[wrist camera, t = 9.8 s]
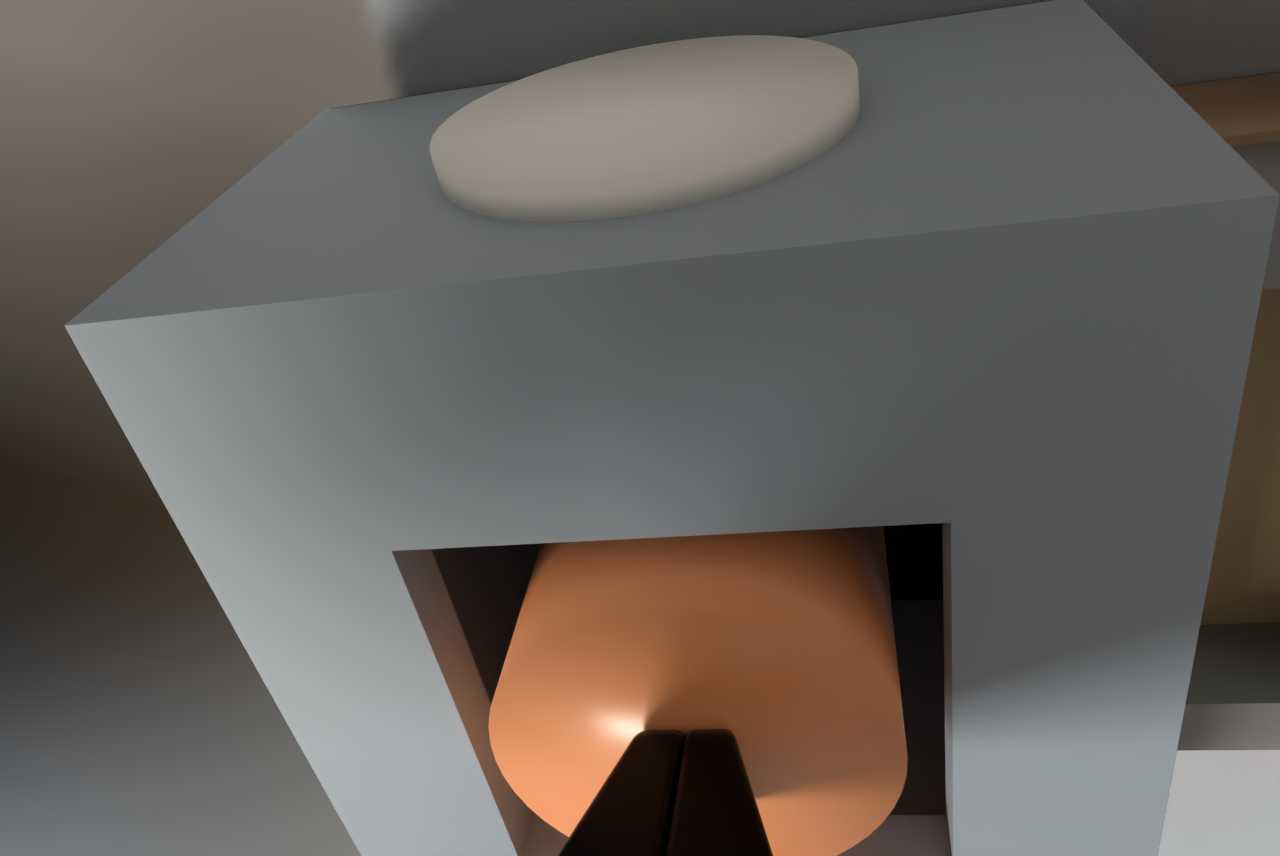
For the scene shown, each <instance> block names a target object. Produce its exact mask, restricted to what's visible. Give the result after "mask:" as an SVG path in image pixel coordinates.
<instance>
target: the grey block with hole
mask: <svg viewBox="0 0 1280 856" xmlns="http://www.w3.org/2000/svg"><path fill="white" fill-rule="evenodd" d="M1279 196H1280V195H1279V194H1278V193H1277V192H1276V191H1275V190H1274V189H1273V188H1272V187H1271V186H1270V185H1269V184H1268V183H1267V182H1266V181H1265V180H1264V179H1263V178H1262V177H1261V176H1260V175H1259V174H1258V173H1257V172H1256V171H1255V170H1254V169H1253V168H1252V167H1251V166H1250V165H1249V164H1248V163H1247V162H1246V161H1245V160H1244V159H1243V158H1242V157H1241V156H1240V155H1239V154H1238V153H1237V152H1236V151H1235V150H1234V149H1233V148H1232V147H1231V146H1230V145H1229V144H1228V143H1227V142H1226V141H1225V140H1224V139H1223V138H1222V137H1221V136H1220V135H1219V134H1218V133H1217V132H1216V131H1215V130H1214V129H1213V128H1212V127H1211V126H1210V125H1209V124H1208V123H1207V122H1206V121H1205V120H1204V119H1203V118H1202V117H1201V116H1200V115H1198V114H1197V113H1196V112H1195V111H1194V110H1193V109H1192V108H1191V107H1190V106H1189V105H1188V104H1187V103H1186V102H1185V101H1184V100H1183V99H1182V98H1181V97H1180V96H1179V95H1178V94H1177V93H1176V92H1175V91H1174V90H1173V89H1172V88H1171V87H1170V86H1169V85H1168V84H1167V83H1166V82H1165V81H1164V80H1163V79H1162V78H1161V77H1160V76H1159V75H1158V74H1157V73H1156V72H1155V71H1154V70H1153V69H1152V68H1151V67H1150V66H1149V65H1148V64H1147V63H1146V62H1145V61H1144V60H1143V59H1142V58H1141V57H1140V56H1139V55H1138V54H1137V53H1136V52H1135V51H1134V50H1133V49H1132V48H1131V47H1130V46H1129V45H1128V44H1127V43H1126V42H1125V41H1124V40H1123V39H1122V38H1121V37H1120V36H1119V35H1118V34H1117V33H1116V32H1115V31H1114V30H1113V29H1112V28H1111V27H1110V26H1109V25H1108V24H1107V23H1106V22H1105V21H1104V20H1103V19H1101V18H1100V17H1099V16H1098V15H1097V14H1096V13H1095V12H1094V11H1093V10H1092V9H1091V8H1090V7H1089V6H1088V5H1087V4H1086V3H1085V2H1084V1H1083V0H1052V1H1045V2H1039V3H1032V4H1025V5H1019V6H1012V7H1005V8H999V9H992V10H985V11H979V12H972V13H965V14H958V15H952V16H945V17H938V18H932V19H925V20H918V21H912V22H905V23H898V24H892V25H885V26H878V27H872V28H865V29H858V30H851V31H845V32H838V33H831V34H825V35H818V36H811V37H805V38H796V37H786V36H769V35H740V36H720V37H706V38H696V39H686V40H679V41H672V42H664V43H658V44H652V45H646V46H640V47H635V48H630V49H625V50H620V51H615V52H611V53H607V54H602V55H598V56H594V57H590V58H586V59H583V60H579V61H575V62H571V63H568V64H565V65H561V66H558V67H555V68H552V69H548V70H546V71H543V72H540V73H537V74H534V75H531V76H528V77H526V78H523V79H520V80H517V81H510V82H504V83H497V84H490V85H484V86H477V87H470V88H464V89H457V90H450V91H444V92H437V93H430V94H424V95H417V96H410V97H403V98H397V99H390V100H383V101H377V102H370V103H364V104H357V105H350V106H343V107H337V108H331V109H325V110H324V111H323V112H321V113H320V114H319V115H318V116H317V117H315V118H314V119H313V120H312V121H311V122H309V123H308V124H307V125H306V126H305V127H303V128H302V129H301V130H300V131H299V132H297V133H296V134H295V135H294V136H292V137H291V138H290V139H289V140H288V141H286V142H285V143H284V144H283V145H282V146H280V147H279V148H278V149H277V150H276V151H275V152H273V153H272V154H271V155H270V156H268V157H267V158H266V159H265V160H264V161H262V162H261V163H260V164H259V165H258V166H256V167H255V168H254V169H253V170H252V171H250V172H249V173H248V174H247V175H246V176H245V177H243V178H242V179H241V180H239V181H238V182H237V183H236V184H235V185H234V186H232V187H231V188H230V189H229V190H228V191H226V192H225V193H224V194H223V195H221V196H220V197H219V198H218V199H217V200H215V201H214V202H213V203H212V204H211V205H209V206H208V207H207V208H206V209H205V210H203V211H202V212H201V213H200V214H198V215H197V216H196V217H195V218H194V219H193V220H191V221H190V222H189V223H188V224H187V225H185V226H184V227H183V228H182V229H180V230H179V231H178V232H177V233H176V234H174V235H173V236H172V237H171V238H170V239H168V240H167V241H166V242H165V243H164V244H162V245H161V246H160V247H159V248H158V249H156V250H155V251H154V252H153V253H152V254H151V255H149V256H148V257H147V258H145V259H144V260H143V261H142V262H141V263H139V264H138V265H137V266H136V267H135V268H134V269H132V270H131V271H130V272H129V273H127V274H126V275H125V276H124V277H123V278H121V279H120V280H119V281H118V282H117V283H115V284H114V285H113V286H112V287H111V288H110V289H108V290H107V291H106V292H105V293H103V294H102V295H101V296H100V297H99V298H97V299H96V300H95V301H94V302H92V303H91V304H90V305H89V306H88V307H86V308H85V309H84V310H83V311H82V312H80V313H79V314H78V315H77V316H76V317H74V318H73V319H72V320H71V321H70V322H68V323H67V324H66V325H65V328H66V329H67V331H68V333H69V335H70V337H71V338H72V340H73V342H74V344H75V346H76V347H77V349H78V351H79V353H80V355H81V356H82V358H83V360H84V361H85V363H86V365H87V367H88V369H89V371H90V372H91V374H92V376H93V378H94V380H95V381H96V383H97V385H98V387H99V388H100V390H101V392H102V394H103V396H104V397H105V399H106V401H107V403H108V405H109V406H110V408H111V410H112V412H113V413H114V415H115V417H116V419H117V421H118V422H119V424H120V426H121V428H122V429H123V431H124V433H125V435H126V437H127V438H128V440H129V442H130V444H131V445H132V447H133V449H134V451H135V453H136V454H137V456H138V458H139V460H140V462H141V463H142V465H143V467H144V468H145V471H146V472H147V474H148V476H149V478H150V479H151V481H152V483H153V485H154V487H155V488H156V490H157V492H158V494H159V496H160V497H161V499H162V501H163V503H164V504H165V506H166V508H167V510H168V512H169V513H170V515H171V517H172V519H173V521H174V522H175V524H176V526H177V528H178V529H179V531H180V533H181V535H182V537H183V538H184V540H185V542H186V544H187V545H188V547H189V549H190V551H191V553H192V554H193V556H194V558H195V560H196V562H197V563H198V565H199V567H200V569H201V570H202V572H203V574H204V575H205V578H206V579H207V581H208V583H209V585H210V587H211V588H212V590H213V592H214V594H215V595H216V597H217V599H218V601H219V603H220V604H221V606H222V608H223V609H224V612H225V613H226V615H227V617H228V619H229V620H230V622H231V624H232V626H233V627H234V629H235V631H236V633H237V635H238V636H239V638H240V640H241V642H242V644H243V645H244V647H245V649H246V651H247V652H248V654H249V656H250V658H251V660H252V661H253V663H254V665H255V667H256V668H257V670H258V672H259V674H260V676H261V677H262V679H263V681H264V683H265V684H266V686H267V688H268V690H269V692H270V693H271V695H272V697H273V699H274V701H275V702H276V704H277V706H278V708H279V710H280V711H281V713H282V715H283V717H284V718H285V720H286V722H287V724H288V726H289V728H290V729H291V731H292V733H293V735H294V736H295V738H296V740H297V742H298V743H299V745H300V747H301V749H302V751H303V752H304V754H305V756H306V758H307V760H308V761H309V763H310V765H311V767H312V769H313V770H314V772H315V774H316V776H317V777H318V779H319V781H320V783H321V785H322V786H323V788H324V790H325V792H326V794H327V795H328V797H329V799H330V801H331V802H332V804H333V806H334V808H335V810H336V811H337V813H338V815H339V817H340V818H341V820H342V822H343V824H344V826H345V827H346V829H347V831H348V833H349V835H350V836H351V838H352V840H353V842H354V843H355V845H356V847H357V849H358V851H359V852H360V854H361V856H557V855H558V854H559V852H560V850H561V849H562V847H563V846H564V844H565V843H566V841H567V840H568V838H569V837H568V836H566V835H564V834H563V833H561V832H559V831H558V830H557V829H555V828H554V827H552V826H551V825H549V824H548V823H547V822H545V821H544V820H543V819H541V818H540V817H539V816H538V815H537V814H536V813H535V812H533V811H532V810H531V809H530V808H529V807H528V806H527V805H526V804H525V803H524V802H523V801H522V800H521V799H520V798H519V796H518V795H517V794H516V793H515V792H514V791H513V789H512V788H511V786H510V785H509V784H508V782H507V781H506V779H505V778H504V776H503V775H502V773H501V771H500V768H499V766H498V764H497V762H496V760H495V757H494V754H493V751H492V748H491V744H490V737H489V728H488V724H489V714H490V707H491V704H492V701H493V697H494V694H495V691H496V688H497V685H498V681H499V678H500V675H501V672H502V668H503V665H504V662H505V659H506V656H507V652H508V649H509V646H510V643H511V639H512V636H513V633H514V630H515V627H516V623H517V620H518V617H519V614H520V610H521V607H522V604H523V601H524V598H525V594H526V591H527V588H528V585H529V581H530V578H531V575H532V572H533V568H534V565H535V562H536V559H537V556H538V552H539V549H540V546H541V543H559V542H579V541H599V540H618V539H638V538H658V537H677V536H697V535H717V534H736V533H756V532H776V531H795V530H815V529H835V528H854V527H874V526H894V525H913V524H933V523H942V543H943V599H933V600H906V601H891V605H892V614H893V624H894V633H895V643H896V652H897V662H898V671H899V680H900V690H901V699H902V709H903V718H904V728H905V737H906V746H907V756H908V761H907V776H906V780H905V783H904V787H903V790H902V793H901V795H900V797H899V799H898V801H897V803H896V805H895V807H894V809H893V810H892V811H891V813H890V814H889V815H888V816H887V818H886V819H885V820H884V822H883V823H882V824H881V825H880V826H879V827H878V828H876V829H875V830H874V831H873V832H872V833H871V834H870V835H869V836H868V837H866V838H865V839H863V840H862V841H860V842H859V843H858V844H856V845H855V846H853V847H852V848H850V849H848V850H846V851H844V852H842V853H840V854H838V855H836V856H1158V851H1159V845H1160V840H1161V834H1162V829H1163V823H1164V818H1165V813H1166V807H1167V802H1168V796H1169V791H1170V786H1171V780H1172V775H1173V769H1174V764H1175V759H1176V753H1177V748H1178V742H1179V737H1180V731H1181V726H1182V721H1183V715H1184V710H1185V704H1186V699H1187V694H1188V688H1189V683H1190V677H1191V672H1192V666H1193V661H1194V656H1195V650H1196V645H1197V639H1198V634H1199V629H1200V623H1201V618H1202V612H1203V607H1204V602H1205V596H1206V591H1207V585H1208V580H1209V574H1210V569H1211V564H1212V558H1213V553H1214V547H1215V542H1216V537H1217V531H1218V526H1219V520H1220V515H1221V509H1222V504H1223V499H1224V493H1225V488H1226V482H1227V477H1228V472H1229V466H1230V461H1231V455H1232V450H1233V445H1234V439H1235V434H1236V428H1237V423H1238V417H1239V412H1240V407H1241V401H1242V396H1243V390H1244V385H1245V380H1246V374H1247V369H1248V363H1249V358H1250V352H1251V347H1252V342H1253V336H1254V331H1255V325H1256V320H1257V315H1258V309H1259V304H1260V298H1261V293H1262V288H1263V282H1264V277H1265V271H1266V266H1267V260H1268V255H1269V250H1270V244H1271V239H1272V233H1273V228H1274V223H1275V217H1276V212H1277V206H1278V201H1279Z"/></svg>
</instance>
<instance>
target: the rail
mask: <svg viewBox="0 0 1280 856" xmlns="http://www.w3.org/2000/svg"><path fill="white" fill-rule="evenodd" d="M1171 88H1172V89H1173V90H1174V91H1175V92H1176V93H1177V94H1178V95H1179V96H1180V97H1181V98H1182V99H1183V100H1184V101H1185V102H1186V103H1187V104H1188V105H1189V106H1190V107H1191V108H1192V109H1193V110H1194V111H1195V112H1196V113H1197V114H1198V115H1200V116H1201V117H1202V118H1203V119H1204V120H1205V121H1206V122H1207V123H1208V124H1209V125H1210V126H1211V127H1212V128H1213V129H1214V130H1215V131H1216V132H1217V133H1218V134H1219V135H1220V136H1221V137H1222V138H1223V139H1224V140H1225V141H1226V142H1227V143H1228V144H1229V145H1230V146H1231V147H1232V148H1233V149H1234V150H1235V151H1236V152H1237V153H1238V154H1239V155H1240V156H1241V157H1242V158H1243V159H1244V160H1245V161H1246V162H1247V163H1248V164H1249V165H1250V166H1251V167H1252V168H1253V169H1254V170H1255V171H1256V172H1257V173H1258V174H1259V175H1260V176H1261V177H1262V178H1263V179H1264V180H1265V181H1266V182H1267V183H1268V184H1269V185H1270V186H1271V187H1272V188H1273V189H1274V190H1275V191H1276V192H1277V193H1278V194H1279V195H1280V72H1279V73H1271V74H1263V75H1256V76H1248V77H1240V78H1233V79H1225V80H1217V81H1210V82H1202V83H1194V84H1187V85H1179V86H1171ZM1177 750H1280V196H1279V201H1278V206H1277V212H1276V217H1275V223H1274V228H1273V233H1272V239H1271V244H1270V250H1269V255H1268V260H1267V266H1266V271H1265V277H1264V282H1263V288H1262V293H1261V298H1260V304H1259V309H1258V315H1257V320H1256V325H1255V331H1254V336H1253V342H1252V347H1251V352H1250V358H1249V363H1248V369H1247V374H1246V380H1245V385H1244V390H1243V396H1242V401H1241V407H1240V412H1239V417H1238V423H1237V428H1236V434H1235V439H1234V445H1233V450H1232V455H1231V461H1230V466H1229V472H1228V477H1227V482H1226V488H1225V493H1224V499H1223V504H1222V509H1221V515H1220V520H1219V526H1218V531H1217V537H1216V542H1215V547H1214V553H1213V558H1212V564H1211V569H1210V574H1209V580H1208V585H1207V591H1206V596H1205V602H1204V607H1203V612H1202V618H1201V623H1200V629H1199V634H1198V639H1197V645H1196V650H1195V656H1194V661H1193V666H1192V672H1191V677H1190V683H1189V688H1188V694H1187V699H1186V704H1185V710H1184V715H1183V721H1182V726H1181V731H1180V737H1179V742H1178V748H1177Z"/></svg>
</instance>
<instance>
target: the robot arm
mask: <svg viewBox="0 0 1280 856" xmlns="http://www.w3.org/2000/svg"><path fill="white" fill-rule="evenodd" d="M557 856H773V853H772V850H771V847H770V844H769V841H768V838H767V835H766V831H765V828H764V825H763V822H762V819H761V816H760V813H759V809H758V806H757V803H756V800H755V797H754V794H753V791H752V787H751V784H750V781H749V778H748V775H747V772H746V769H745V766H744V762H743V759H742V756H741V753H740V750H739V747H738V744H737V741H736V738H735V736H734V734H733V733H732V731H730V730H727V729H711V730H692V731H690V732H689V733H688V734H687V735H686V736H685V734H684V733H683V732H682V731H679V730H645V731H641V732H640V733H638V734H637V735H636V736H635V737H634V738H633V739H632V741H631V742H630V744H629V745H628V747H627V748H626V750H625V751H624V753H623V755H622V756H621V758H620V759H619V761H618V762H617V764H616V765H615V767H614V769H613V770H612V772H611V773H610V775H609V776H608V778H607V779H606V781H605V782H604V784H603V786H602V787H601V789H600V790H599V792H598V793H597V795H596V796H595V798H594V799H593V801H592V803H591V804H590V806H589V807H588V809H587V810H586V812H585V813H584V815H583V816H582V818H581V820H580V821H579V823H578V824H577V826H576V827H575V829H574V830H573V832H572V833H571V835H570V837H569V838H568V840H567V841H566V843H565V844H564V846H563V847H562V849H561V850H560V852H559V854H558V855H557Z"/></svg>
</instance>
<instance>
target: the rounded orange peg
mask: <svg viewBox="0 0 1280 856" xmlns="http://www.w3.org/2000/svg"><path fill="white" fill-rule="evenodd" d="M488 728H489V737H490V744H491V748H492V751H493V754H494V757H495V760H496V762H497V764H498V766H499V768H500V771H501V773H502V775H503V776H504V778H505V779H506V781H507V782H508V784H509V785H510V786H511V788H512V789H513V791H514V792H515V793H516V794H517V795H518V796H519V798H520V799H521V800H522V801H523V802H524V803H525V804H526V805H527V806H528V807H529V808H530V809H531V810H532V811H533V812H535V813H536V814H537V815H538V816H539V817H540V818H541V819H543V820H544V821H545V822H547V823H548V824H549V825H551V826H552V827H554V828H555V829H557V830H558V831H559V832H561V833H563V834H564V835H566V836H568V837H570V835H571V833H572V832H573V830H574V829H575V827H576V826H577V824H578V823H579V821H580V820H581V818H582V816H583V815H584V813H585V812H586V810H587V809H588V807H589V806H590V804H591V803H592V801H593V799H594V798H595V796H596V795H597V793H598V792H599V790H600V789H601V787H602V786H603V784H604V782H605V781H606V779H607V778H608V776H609V775H610V773H611V772H612V770H613V769H614V767H615V765H616V764H617V762H618V761H619V759H620V758H621V756H622V755H623V753H624V751H625V750H626V748H627V747H628V745H629V744H630V742H631V741H632V739H633V738H634V737H635V736H636V735H637V734H638V733H640V732H641V731H645V730H679V731H682V732H683V733H684V734H685V736H686V735H687V734H688V733H689V732H690V731H692V730H711V729H727V730H730V731H732V733H733V734H734V736H735V738H736V741H737V744H738V747H739V750H740V753H741V756H742V759H743V762H744V766H745V769H746V772H747V775H748V778H749V781H750V784H751V787H752V791H753V794H754V797H755V800H756V803H757V806H758V809H759V813H760V816H761V819H762V822H763V825H764V828H765V831H766V835H767V838H768V841H769V844H770V847H771V850H772V853H773V856H836V855H838V854H840V853H842V852H844V851H846V850H848V849H850V848H852V847H853V846H855V845H856V844H858V843H859V842H860V841H862V840H863V839H865V838H866V837H868V836H869V835H870V834H871V833H872V832H873V831H874V830H875V829H876V828H878V827H879V826H880V825H881V824H882V823H883V822H884V820H885V819H886V818H887V816H888V815H889V814H890V813H891V811H892V810H893V809H894V807H895V805H896V803H897V801H898V799H899V797H900V795H901V793H902V790H903V787H904V783H905V780H906V776H907V761H908V756H907V746H906V737H905V728H904V718H903V709H902V699H901V690H900V680H899V671H898V662H897V652H896V643H895V633H894V624H893V614H892V605H891V596H890V586H889V577H888V567H887V558H886V548H885V539H884V530H883V526H874V527H854V528H835V529H815V530H795V531H776V532H756V533H736V534H717V535H697V536H677V537H658V538H638V539H618V540H599V541H579V542H559V543H541V546H540V549H539V552H538V556H537V559H536V562H535V565H534V568H533V572H532V575H531V578H530V581H529V585H528V588H527V591H526V594H525V598H524V601H523V604H522V607H521V610H520V614H519V617H518V620H517V623H516V627H515V630H514V633H513V636H512V639H511V643H510V646H509V649H508V652H507V656H506V659H505V662H504V665H503V668H502V672H501V675H500V678H499V681H498V685H497V688H496V691H495V694H494V697H493V701H492V704H491V707H490V714H489V724H488Z"/></svg>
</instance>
